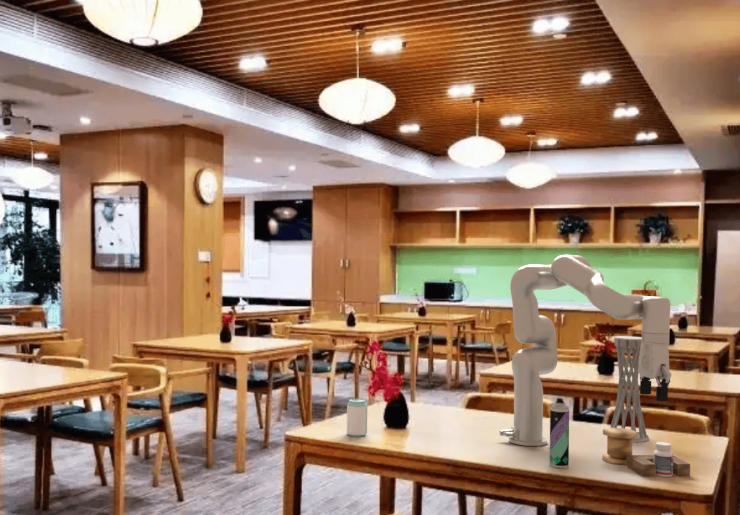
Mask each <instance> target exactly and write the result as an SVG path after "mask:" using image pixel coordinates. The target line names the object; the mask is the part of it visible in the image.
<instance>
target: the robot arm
mask: <svg viewBox="0 0 740 515" xmlns="http://www.w3.org/2000/svg"><path fill="white" fill-rule="evenodd" d="M509 286H510V288H509V289H510V296H511V302H512V318H513V332H514V337H515V339H516V341H518V342H519V343H520V344H523V345H532V347H525V348H521V349H519V350H517V351H516V352H515V353H514V354H513V356H512V358H511V370H512V375H513V391H514V392H513V426H510V427H511V428H509V429H499V436H500V437H503V436H504V437H508V441H509V442H510V443H512V444H514V445H519V446H527V447H540V446H541V447H542V446H545V445H547V444H548V439H547V438H546V437H544V436H543V430H544V429H543V428H544V426H543V423H544V422H543V421H544V420H543V419H544V418H543V417H544V416H543V414H544V406H543V405H544V388H543V383H542V380H541V377H540V376H543V375H547V374H549V375H550V374H551V373H553V372H554V371H555V370H556V368H557V365H558V347H557V346H558V344H557V333H556V332H557V331H556V328H555V324H554V322H553V321H552V320H551V319H550V318H549V317H548V316H546V315H541V314H540V313H539V303H538V299H537V297H536V295H535V292H534V291H535V290H542V291H543V290H545V291H548V290H555V289H559V288H563V287H566V286H569V287H570V288H572V289H575V290H576V291H577V292H579V293H581V294H582V295H584V296H585V297H586V298H587V300H588V301H589V302H590V303H591V304H592V305H593V306H594V307H595V308H597V309H598V310H600V311H601V312H603V313H605V314H606V315H608V316H609V317H612V318H613V319H616V320H619V321H625V320H641V338H642V341H641V347H640V354H639V365H638V375H639V381H640V382H639V383H640V384H639V395H651V394H652V380H654V379H655V381H656V384H657V386H656V390H655V391H656V392H655V400H656V402H668V398H669V386H670V383H671V377H672V372H670V353H669V352H670V350H669V345H670V329H671V328H670V326H671V323H670V322H671V300H670V299H669V298H668V297H664V296H652V295H651V296H648V295H643V294H632V293H631V294H624V293H623V294H622V293H620V292H619V291H616V290H615V289H613V288H611V287H609V286H608V285H607V284H605V283H604V275H603V274H602V273H601V272H600V271H598V270H596V269H594V268H593V267H592V266H591V264H590V262H589V261H588V259H586V258H585V257H584V256H582V255H579V254H578V255H574V254H561V255H558V256H557V257H555V258H554V259H553V260H552V262H551V264H540V263H538V264H536V263H535V264H534V263H533V264H526V265H522V266H521V267H519V268H518V269H517V270H515V272H514V273H513V274H512V277H511V279H510V284H509Z"/></svg>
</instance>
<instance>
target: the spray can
mask: <svg viewBox="0 0 740 515" xmlns="http://www.w3.org/2000/svg"><path fill="white" fill-rule="evenodd" d="M549 410H550V411H549V412H550V413H549V466H550V467H551V468H555V469H567V468H569V465H570V462H569V460H570V453H569V452H570V451H569V450H570V445H569V444H570V407H569V406H568V405H567V404H566V403H565V402H564V399H563V397H557V398H556V401H555V402H554V403H553V404H552V405H550V409H549Z"/></svg>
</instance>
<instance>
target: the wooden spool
mask: <svg viewBox="0 0 740 515" xmlns="http://www.w3.org/2000/svg"><path fill="white" fill-rule="evenodd" d="M637 432H638V431H637V430H636V431H634V430H631V428H630V429H629V428H625V429H624V428H621V427H617V428H611V427H604V428H603V429H602V435H604V436H606V437H607V438H606V439H607V440H606V441H607V444H606V445H607V447H606V448H607V449H606V451H607V452H606V453H604V454H602V456H601V457H602V461H603V462H605V463H608V464H612V465H617V466H627V455H633V442H632V438H636V437H637Z"/></svg>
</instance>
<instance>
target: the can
mask: <svg viewBox="0 0 740 515" xmlns="http://www.w3.org/2000/svg"><path fill="white" fill-rule="evenodd" d="M367 433H368V404H367V401H366V399H364V398H350V399H349V400H348V402H347V405H346V434H347V435H348V436H350V437H365V435H366V434H367Z"/></svg>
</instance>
